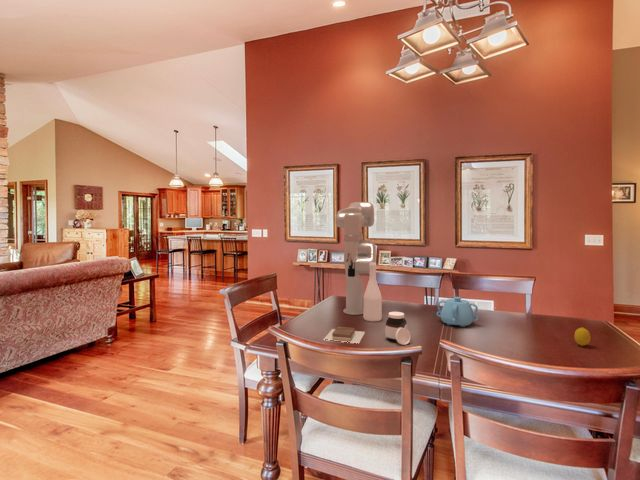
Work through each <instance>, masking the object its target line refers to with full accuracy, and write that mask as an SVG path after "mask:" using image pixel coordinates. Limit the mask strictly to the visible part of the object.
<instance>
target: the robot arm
mask: <svg viewBox="0 0 640 480" xmlns="http://www.w3.org/2000/svg"><path fill="white" fill-rule="evenodd" d="M334 221H335V225H336V227H337V228H341V229H343V242H344V251H343V252H344V253H343V254H344V255H343V256H344V258H343V262H344V271H345V308H344V309H343V311H342V312H343V313H344V314H346V315H355V316H356V315H357V316H358V315H363V303H364V280H363V279H362V277H361V276H360V275H362V274H369V275H370V267H369V264H370V263H372V262H373V263H376V264H377V248H376V246H377V245H376V244H375V242H374V241H373V240H364V235H363V233H362V231H360V228H361V227H362V228H363V227H364V228H367V227H369V228H370V227H372V226H374V223H375V208H374V205H373V203H372V202H371V201H370V202H369V201H354V202H351V203H350V204H349V205H348V207H345V208H342V209H339V210H338V211H337V213H336V214H335V220H334Z"/></svg>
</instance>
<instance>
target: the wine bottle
mask: <svg viewBox="0 0 640 480" xmlns="http://www.w3.org/2000/svg"><path fill="white" fill-rule="evenodd" d="M369 267H370V274H369V278H368V282H367V285H366V288H365V291H364V293H363V314H362V315H363V319H364V320H365V321H367V322H372V323H375V322H380V321H381V320H382V318H383V317H382V316H383V315H382V314H383V313H382V312H383V297H382V293H381V289H380V287H379V283H378V281H377V262H376V263H373V262H372V263H370V264H369Z"/></svg>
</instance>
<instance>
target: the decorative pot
mask: <svg viewBox="0 0 640 480" xmlns="http://www.w3.org/2000/svg"><path fill="white" fill-rule="evenodd" d="M461 298H462V297H460V296H454V297H453V298H448V299H446V300H443V299H441V300H440V301H438V302H437V308H438V311H437V312H436V316H437V317H439V318H441V321H442V323H445V324H446V326H459V327H461V328H466V327H467V326H470V325H471V324H472V323H473V321H474V322H477V321H479V316H478V315H477V313H478V309H479V307H478V305H477V304H475V303H473V302H469V301H468V300H466V299H461ZM441 303H442V304H443V303H444V304H443V306H442V308H441ZM472 307H474V308H475V310H474V311H473V309H472Z"/></svg>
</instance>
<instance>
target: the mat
mask: <svg viewBox="0 0 640 480" xmlns="http://www.w3.org/2000/svg"><path fill="white" fill-rule="evenodd" d="M335 329H336V328H331V329H330V331H329V332H327V333H328V334H326V335H325V337H324V338H323V339H322V341H323V340H324V342H331V341H330V340H332V333H333V332H334V331H335ZM365 333H366V331H363V330H362V331H360V330H359V331H358V330H355V335H354V336H353V338H352V340H351V341H348V342H350V343H348V342H347V341H341V342H340V343H344V342H347V343H346V344H354V343H356V344H355V345H357V343H358V345H359V344H360V342H361V341H362V338H364V335H365ZM325 339H328V340H326V341H325ZM334 341H340V340H334Z"/></svg>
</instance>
